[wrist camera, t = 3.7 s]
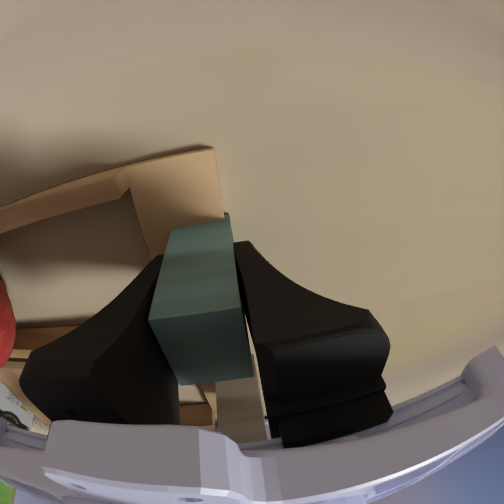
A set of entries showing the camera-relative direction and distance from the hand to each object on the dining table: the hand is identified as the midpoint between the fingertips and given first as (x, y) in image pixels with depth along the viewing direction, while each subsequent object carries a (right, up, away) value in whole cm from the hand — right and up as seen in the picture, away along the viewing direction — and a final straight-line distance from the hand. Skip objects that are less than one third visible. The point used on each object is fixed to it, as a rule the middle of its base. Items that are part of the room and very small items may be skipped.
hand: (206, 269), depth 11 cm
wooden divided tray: (-9, 0, +1) cm, 9 cm away
